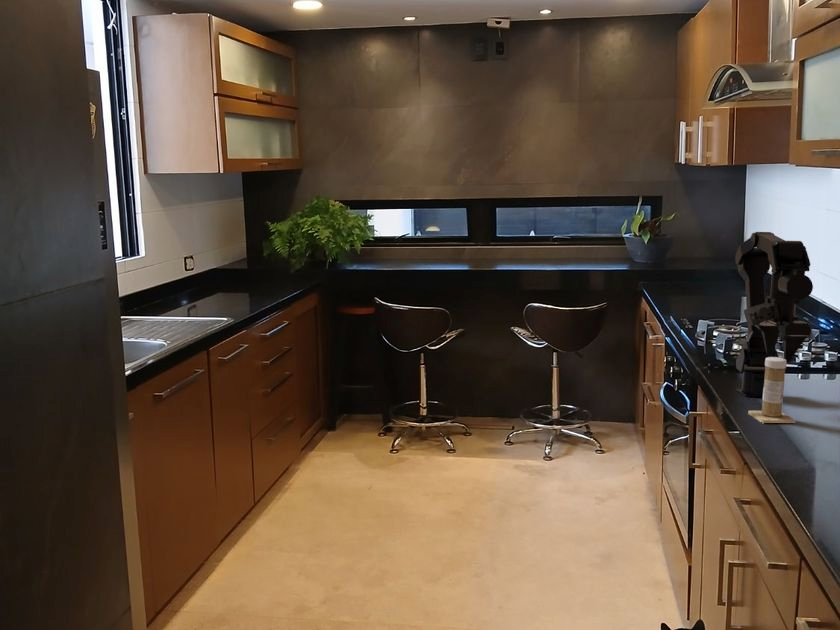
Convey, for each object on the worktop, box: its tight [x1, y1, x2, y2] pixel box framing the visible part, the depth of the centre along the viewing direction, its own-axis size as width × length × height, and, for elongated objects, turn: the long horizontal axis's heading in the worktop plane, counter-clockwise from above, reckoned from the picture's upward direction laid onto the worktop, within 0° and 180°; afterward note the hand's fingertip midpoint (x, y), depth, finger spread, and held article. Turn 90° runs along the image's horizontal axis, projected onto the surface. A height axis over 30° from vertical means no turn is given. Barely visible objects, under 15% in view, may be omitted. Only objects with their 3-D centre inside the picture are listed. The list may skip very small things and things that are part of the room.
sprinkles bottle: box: [760, 356, 787, 417], centre depth 194 cm, size 5×5×14 cm
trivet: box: [747, 410, 797, 425], centre depth 195 cm, size 8×8×1 cm
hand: (777, 358), depth 199 cm, fingers open, 9 cm apart
